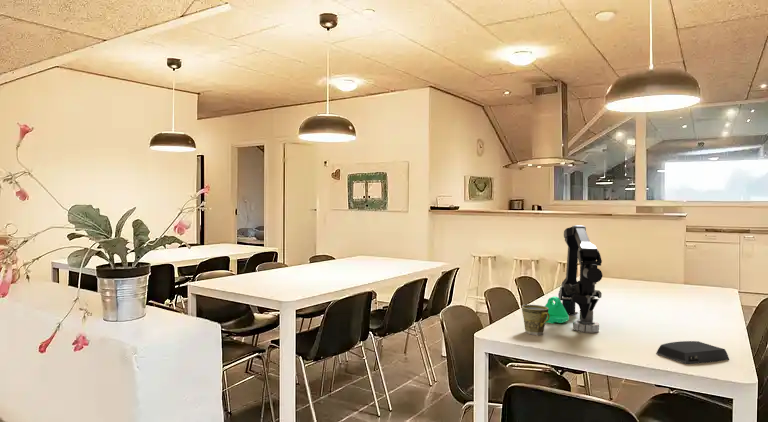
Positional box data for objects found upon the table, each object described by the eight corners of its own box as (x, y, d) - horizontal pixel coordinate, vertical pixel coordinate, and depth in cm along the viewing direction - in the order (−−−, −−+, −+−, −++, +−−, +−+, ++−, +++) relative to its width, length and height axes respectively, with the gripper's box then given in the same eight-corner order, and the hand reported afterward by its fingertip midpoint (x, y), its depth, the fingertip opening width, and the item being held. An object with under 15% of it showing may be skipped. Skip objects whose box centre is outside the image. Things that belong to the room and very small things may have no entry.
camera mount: (534, 320, 223) (535, 296, 223) (541, 317, 229) (542, 294, 229) (561, 325, 216) (562, 300, 215) (568, 322, 221) (569, 298, 221)
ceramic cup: (515, 330, 204) (516, 305, 204) (536, 328, 208) (536, 303, 208) (537, 339, 192) (538, 312, 192) (559, 337, 196) (559, 310, 196)
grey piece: (577, 325, 215) (577, 318, 215) (601, 329, 209) (601, 322, 209) (569, 329, 207) (569, 322, 207) (594, 334, 202) (594, 326, 201)
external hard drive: (653, 354, 178) (654, 342, 178) (696, 350, 184) (696, 338, 184) (687, 366, 165) (687, 353, 165) (731, 361, 172) (732, 349, 172)
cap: (581, 318, 212) (582, 308, 212) (594, 320, 209) (594, 310, 208) (577, 320, 208) (578, 310, 208) (590, 322, 205) (590, 312, 205)
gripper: (575, 274, 220) (573, 310, 220) (558, 278, 206) (557, 318, 206) (602, 277, 213) (601, 315, 213) (587, 282, 199) (586, 322, 199)
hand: (586, 317), depth 208 cm, fingers closed on cap, 5 cm apart
